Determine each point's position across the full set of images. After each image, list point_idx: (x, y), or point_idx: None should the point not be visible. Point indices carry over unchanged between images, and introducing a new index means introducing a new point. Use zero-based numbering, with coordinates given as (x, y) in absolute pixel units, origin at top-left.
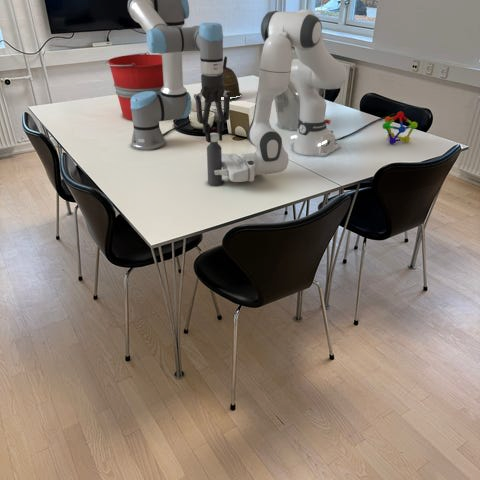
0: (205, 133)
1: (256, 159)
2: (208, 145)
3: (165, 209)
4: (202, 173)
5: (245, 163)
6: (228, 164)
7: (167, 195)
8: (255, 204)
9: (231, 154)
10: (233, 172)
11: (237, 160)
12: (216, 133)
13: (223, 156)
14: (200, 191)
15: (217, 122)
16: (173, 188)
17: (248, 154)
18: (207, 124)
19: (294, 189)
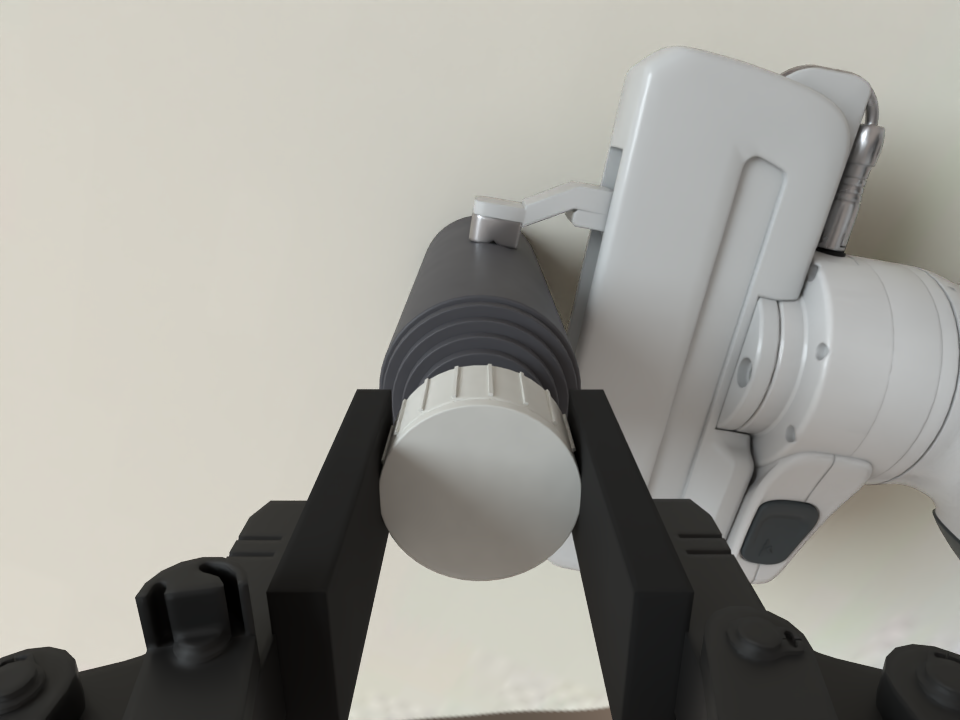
0: (331, 448)
1: (883, 480)
2: (414, 353)
3: (36, 502)
4: (457, 16)
5: (737, 496)
6: (604, 387)
7: (68, 322)
8: (579, 646)
9: (788, 134)
10: (554, 560)
11: (742, 330)
12: (553, 465)
13: (670, 155)
14: (322, 361)
15: (626, 607)
16: (130, 223)
17: (870, 416)
18: (291, 711)
19: (918, 583)
